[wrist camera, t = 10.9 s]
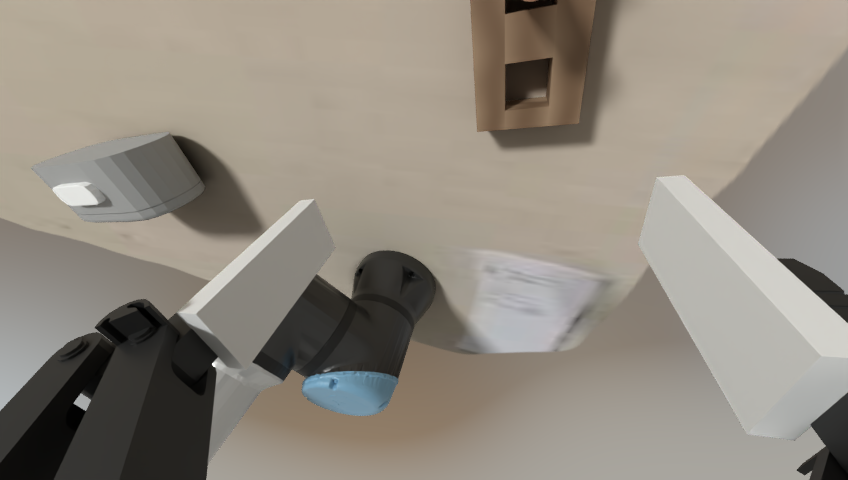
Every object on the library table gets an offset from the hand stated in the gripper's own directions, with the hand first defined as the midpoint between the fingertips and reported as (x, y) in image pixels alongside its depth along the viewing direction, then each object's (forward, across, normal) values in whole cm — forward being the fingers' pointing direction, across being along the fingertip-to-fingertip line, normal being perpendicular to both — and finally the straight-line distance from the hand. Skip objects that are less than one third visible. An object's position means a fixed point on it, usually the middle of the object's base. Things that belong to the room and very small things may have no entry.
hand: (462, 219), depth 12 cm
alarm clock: (+29, -56, -4) cm, 63 cm away
